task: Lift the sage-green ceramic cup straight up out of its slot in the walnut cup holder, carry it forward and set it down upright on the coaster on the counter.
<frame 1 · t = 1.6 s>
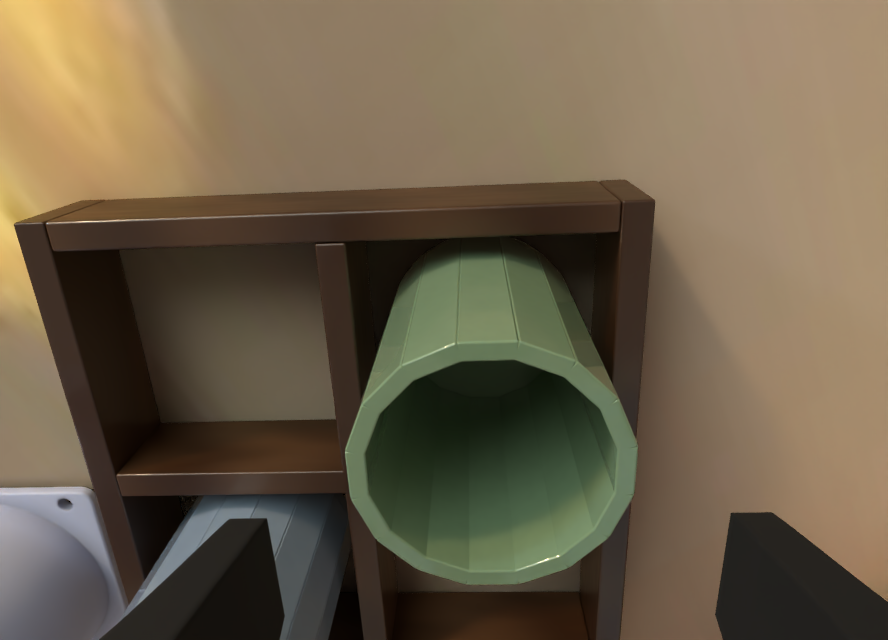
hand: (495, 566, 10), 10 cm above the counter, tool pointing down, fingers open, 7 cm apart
cup: (481, 320, 20), resting in cup holder
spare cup: (276, 520, 23), resting in cup holder
cup holder: (371, 428, 21), on the counter
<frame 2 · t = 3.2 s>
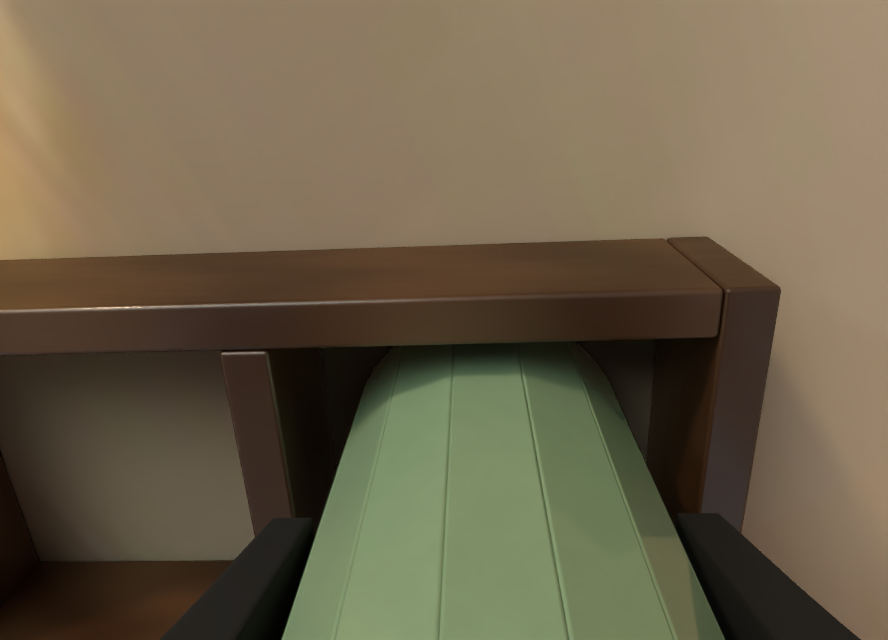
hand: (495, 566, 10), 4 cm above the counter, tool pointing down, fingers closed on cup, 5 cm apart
cup: (486, 432, 13), resting in cup holder, touching gripper
cup holder: (332, 571, 15), on the counter
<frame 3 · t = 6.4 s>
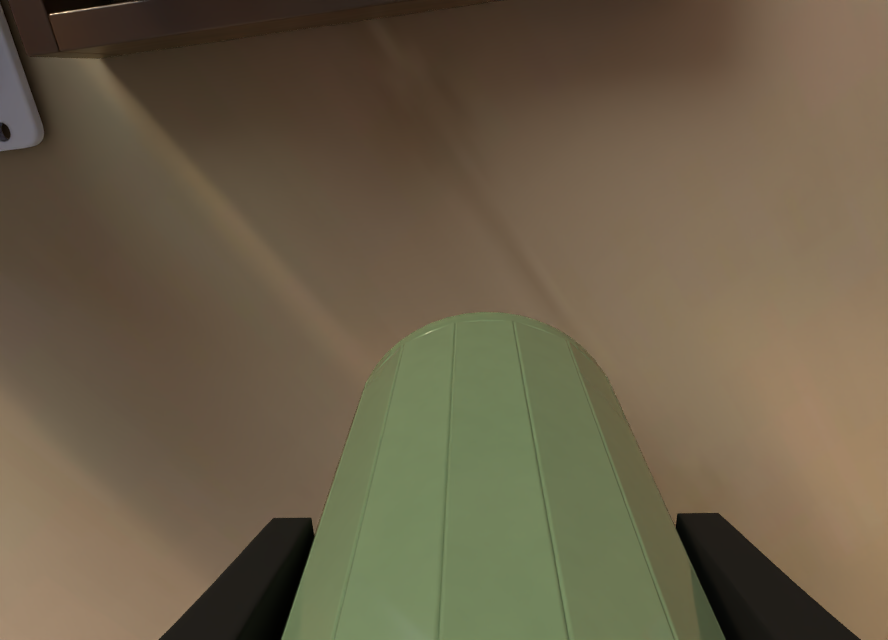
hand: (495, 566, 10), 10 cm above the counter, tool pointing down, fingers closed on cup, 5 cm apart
cup: (486, 432, 13), point 7 cm above the counter, touching gripper
when the fingers open (4 cm above the counter, at t = 9.6 s): cup stays where it is, resting on coaster.
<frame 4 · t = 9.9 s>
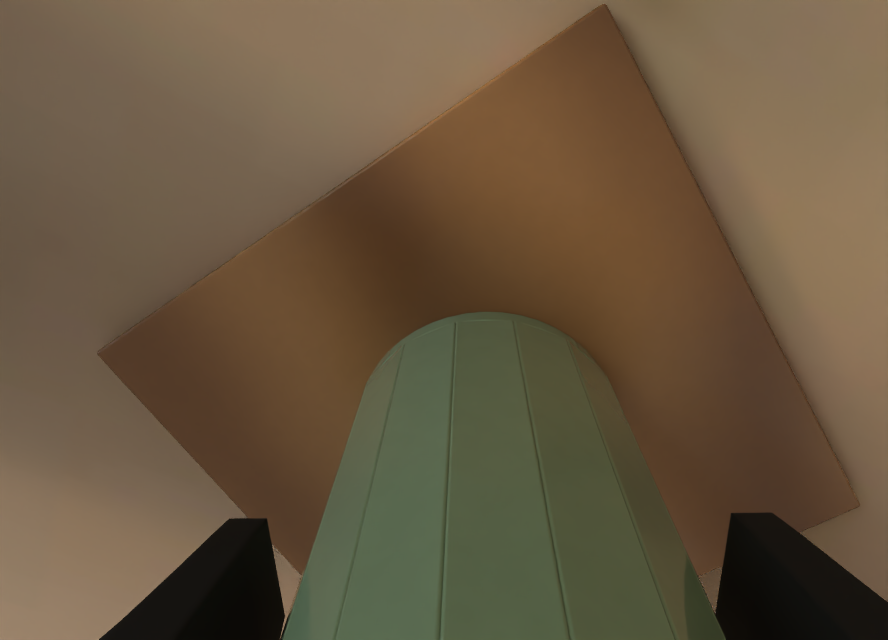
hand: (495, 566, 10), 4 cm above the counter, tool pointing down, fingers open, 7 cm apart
cup: (486, 431, 14), resting on coaster
coaster: (487, 422, 14), on the counter
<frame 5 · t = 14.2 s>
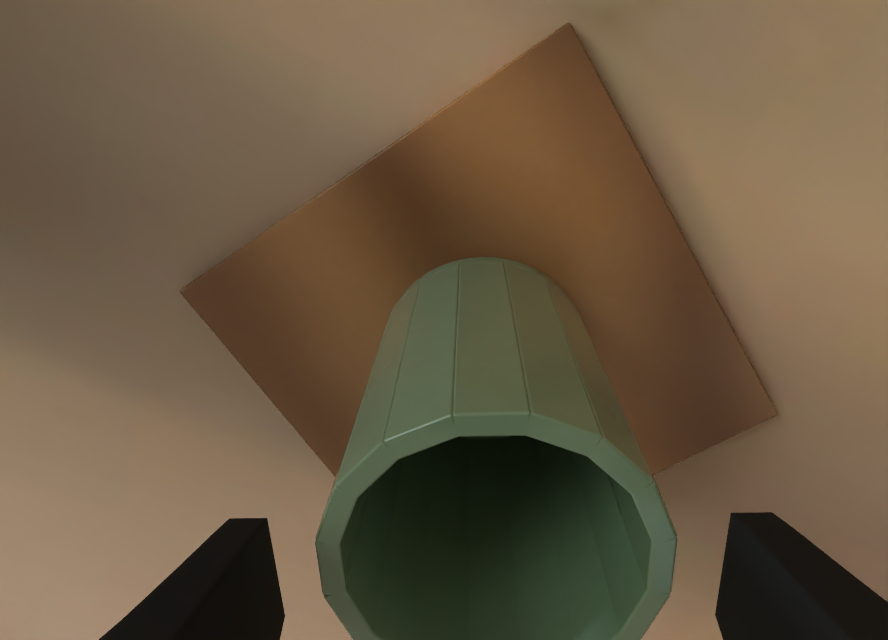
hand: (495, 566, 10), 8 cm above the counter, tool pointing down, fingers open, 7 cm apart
cup: (483, 354, 17), resting on coaster
coaster: (484, 348, 18), on the counter
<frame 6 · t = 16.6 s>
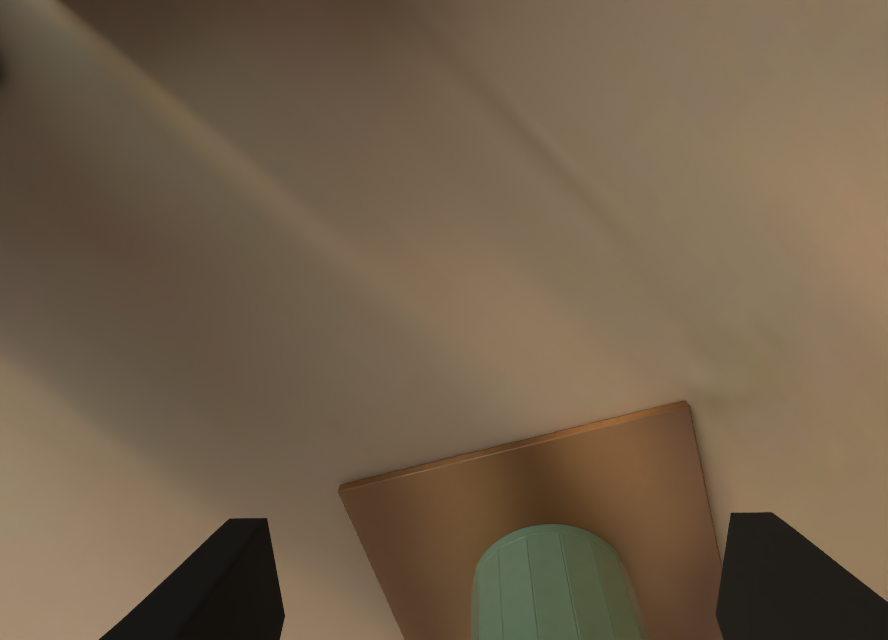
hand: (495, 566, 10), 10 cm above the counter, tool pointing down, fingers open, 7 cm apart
cup: (549, 585, 23), resting on coaster
coaster: (549, 577, 23), on the counter
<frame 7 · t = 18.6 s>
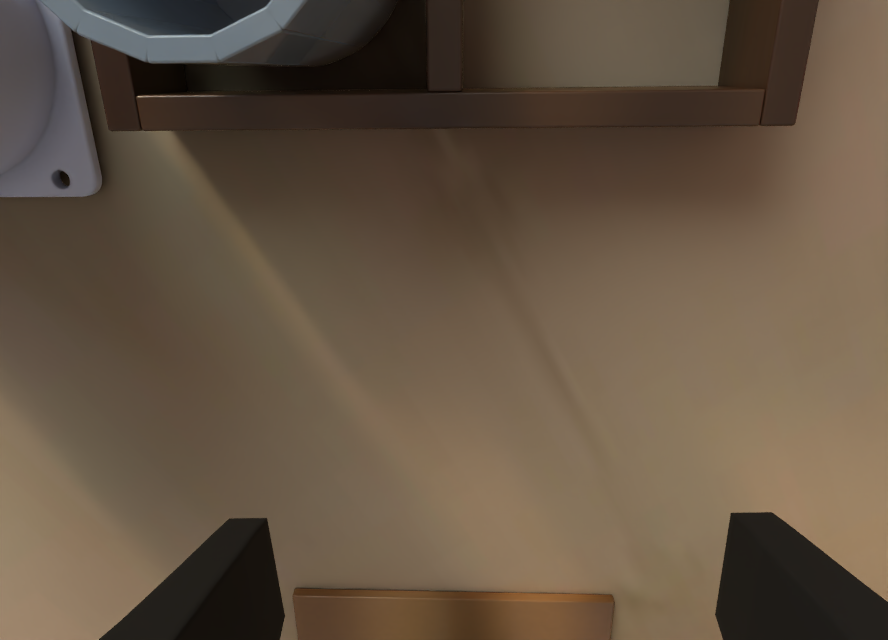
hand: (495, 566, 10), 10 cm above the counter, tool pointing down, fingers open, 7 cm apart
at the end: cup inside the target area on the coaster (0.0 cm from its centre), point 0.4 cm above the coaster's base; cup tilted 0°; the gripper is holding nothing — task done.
